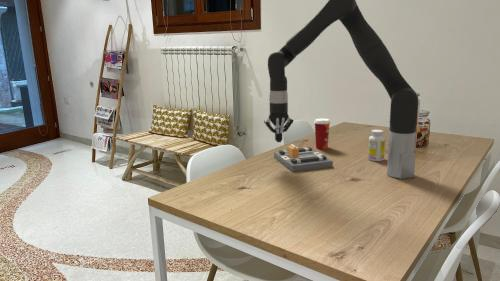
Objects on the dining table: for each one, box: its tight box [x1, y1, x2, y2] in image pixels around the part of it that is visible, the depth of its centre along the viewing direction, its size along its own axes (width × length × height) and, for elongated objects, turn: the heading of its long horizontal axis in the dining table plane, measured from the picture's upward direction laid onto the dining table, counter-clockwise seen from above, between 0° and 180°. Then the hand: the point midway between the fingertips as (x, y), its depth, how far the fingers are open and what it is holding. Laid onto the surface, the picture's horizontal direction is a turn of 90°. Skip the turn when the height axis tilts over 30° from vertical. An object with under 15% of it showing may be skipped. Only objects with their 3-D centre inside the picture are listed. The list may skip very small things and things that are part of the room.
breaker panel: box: [273, 148, 334, 173], centre depth 168 cm, size 22×18×3 cm
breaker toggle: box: [287, 143, 300, 158], centre depth 166 cm, size 5×3×5 cm, turn 16°
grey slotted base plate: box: [279, 146, 327, 164], centre depth 168 cm, size 17×15×4 cm
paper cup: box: [313, 117, 331, 150], centre depth 188 cm, size 8×8×14 cm
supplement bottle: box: [367, 129, 386, 162], centre depth 167 cm, size 7×7×13 cm
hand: (278, 141), depth 164 cm, fingers closed
